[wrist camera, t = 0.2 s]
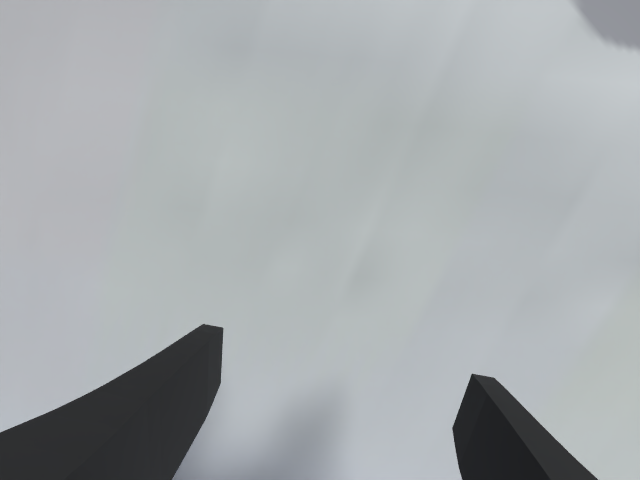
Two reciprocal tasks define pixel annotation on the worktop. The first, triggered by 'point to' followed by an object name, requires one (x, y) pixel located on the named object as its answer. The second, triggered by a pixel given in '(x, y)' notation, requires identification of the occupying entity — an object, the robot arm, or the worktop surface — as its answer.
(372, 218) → the worktop surface
